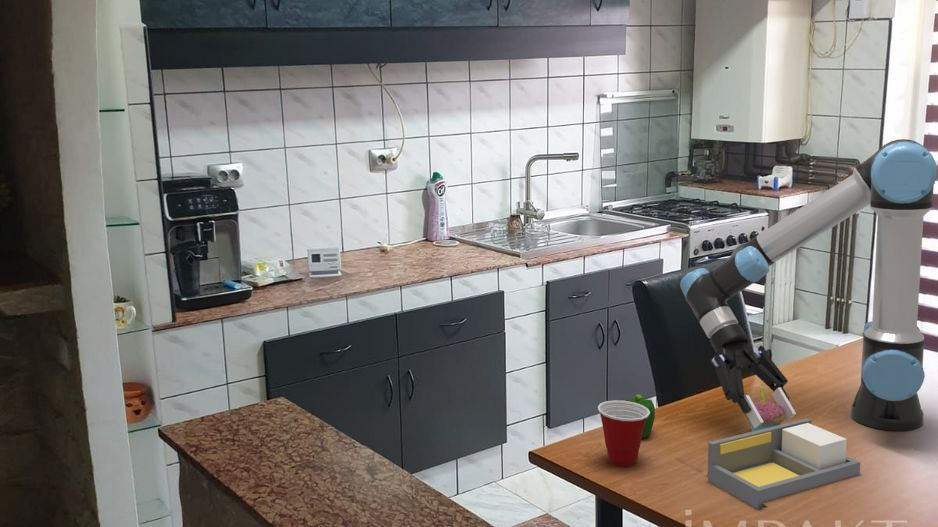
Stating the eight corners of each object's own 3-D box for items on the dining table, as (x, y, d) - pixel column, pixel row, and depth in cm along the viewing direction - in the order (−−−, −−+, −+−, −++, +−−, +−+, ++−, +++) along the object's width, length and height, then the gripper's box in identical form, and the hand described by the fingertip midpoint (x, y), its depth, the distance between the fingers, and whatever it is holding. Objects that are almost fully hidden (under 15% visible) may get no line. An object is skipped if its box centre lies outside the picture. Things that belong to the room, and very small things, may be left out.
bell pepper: (618, 427, 207) (618, 386, 205) (654, 428, 205) (654, 387, 203) (617, 440, 199) (617, 398, 197) (654, 442, 197) (654, 399, 195)
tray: (805, 454, 188) (807, 418, 186) (859, 479, 175) (861, 440, 174) (707, 481, 177) (708, 442, 176) (757, 509, 165) (758, 468, 163)
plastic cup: (649, 473, 181) (650, 418, 179) (596, 470, 184) (596, 416, 181) (650, 452, 192) (650, 399, 190) (599, 450, 194) (599, 397, 192)
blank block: (806, 454, 185) (808, 422, 184) (845, 472, 176) (846, 439, 175) (781, 461, 182) (782, 429, 181) (818, 479, 173) (820, 446, 172)
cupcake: (779, 443, 185) (780, 389, 183) (738, 437, 190) (738, 384, 188) (789, 429, 193) (789, 377, 190) (749, 424, 197) (749, 372, 195)
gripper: (751, 333, 206) (803, 419, 195) (678, 347, 198) (727, 439, 186) (768, 315, 200) (822, 403, 189) (693, 329, 192) (745, 422, 180)
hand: (775, 421), depth 188 cm, fingers closed on cupcake, 8 cm apart
